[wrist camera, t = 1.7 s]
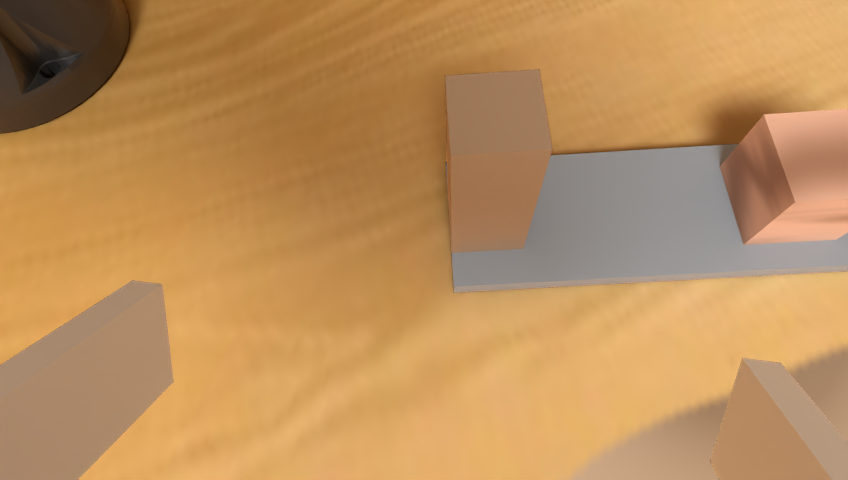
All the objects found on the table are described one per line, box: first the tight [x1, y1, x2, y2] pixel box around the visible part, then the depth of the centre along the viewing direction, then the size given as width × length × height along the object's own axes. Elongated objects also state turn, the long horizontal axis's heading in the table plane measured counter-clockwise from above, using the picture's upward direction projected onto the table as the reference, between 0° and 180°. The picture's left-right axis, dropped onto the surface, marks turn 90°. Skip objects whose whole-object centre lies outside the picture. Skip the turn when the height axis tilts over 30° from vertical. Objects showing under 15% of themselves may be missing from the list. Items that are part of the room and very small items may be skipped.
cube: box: [720, 109, 848, 245], centre depth 29 cm, size 5×5×5 cm
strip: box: [445, 69, 848, 293], centre depth 27 cm, size 8×22×11 cm, turn 92°
